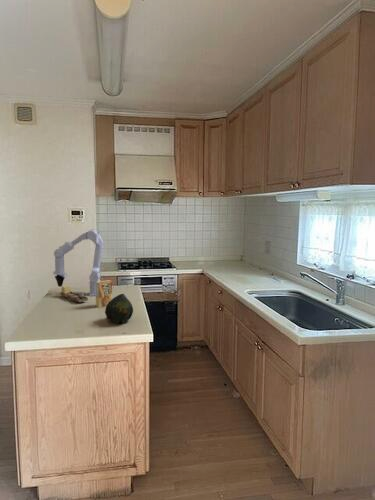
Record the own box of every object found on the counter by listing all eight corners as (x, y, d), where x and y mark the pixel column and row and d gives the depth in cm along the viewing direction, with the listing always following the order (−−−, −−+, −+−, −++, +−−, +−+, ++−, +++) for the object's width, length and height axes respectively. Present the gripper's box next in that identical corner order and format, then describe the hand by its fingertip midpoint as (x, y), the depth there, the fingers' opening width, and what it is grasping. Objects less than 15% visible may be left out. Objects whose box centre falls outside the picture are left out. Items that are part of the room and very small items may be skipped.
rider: (70, 292, 244) (70, 286, 243) (64, 293, 241) (64, 287, 241) (67, 291, 247) (67, 285, 246) (61, 292, 244) (61, 286, 243)
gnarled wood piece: (88, 302, 232) (88, 293, 231) (78, 304, 227) (78, 295, 226) (69, 295, 248) (69, 287, 247) (59, 297, 243) (59, 288, 242)
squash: (101, 316, 187) (120, 293, 189) (99, 309, 201) (117, 287, 203) (122, 332, 191) (141, 310, 192) (119, 324, 205) (137, 303, 207)
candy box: (109, 304, 229) (108, 279, 227) (112, 305, 225) (112, 281, 223) (95, 306, 223) (95, 281, 221) (99, 308, 220) (98, 282, 218)
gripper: (48, 265, 249) (49, 285, 251) (59, 268, 239) (59, 289, 241) (58, 264, 254) (59, 283, 256) (69, 267, 244) (69, 287, 246)
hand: (60, 286), depth 249 cm, fingers closed
